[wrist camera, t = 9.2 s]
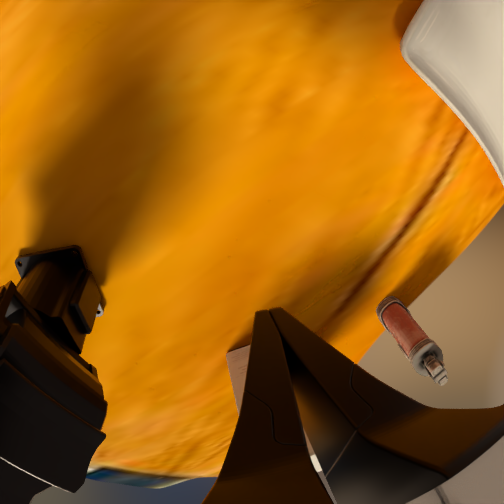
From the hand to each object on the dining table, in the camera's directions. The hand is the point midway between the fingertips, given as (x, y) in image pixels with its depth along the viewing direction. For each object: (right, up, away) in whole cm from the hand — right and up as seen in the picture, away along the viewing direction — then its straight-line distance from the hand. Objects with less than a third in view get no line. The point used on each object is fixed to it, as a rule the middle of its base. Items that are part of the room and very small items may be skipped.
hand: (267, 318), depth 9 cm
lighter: (+16, -5, +21) cm, 27 cm away
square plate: (+26, +23, +8) cm, 36 cm away
